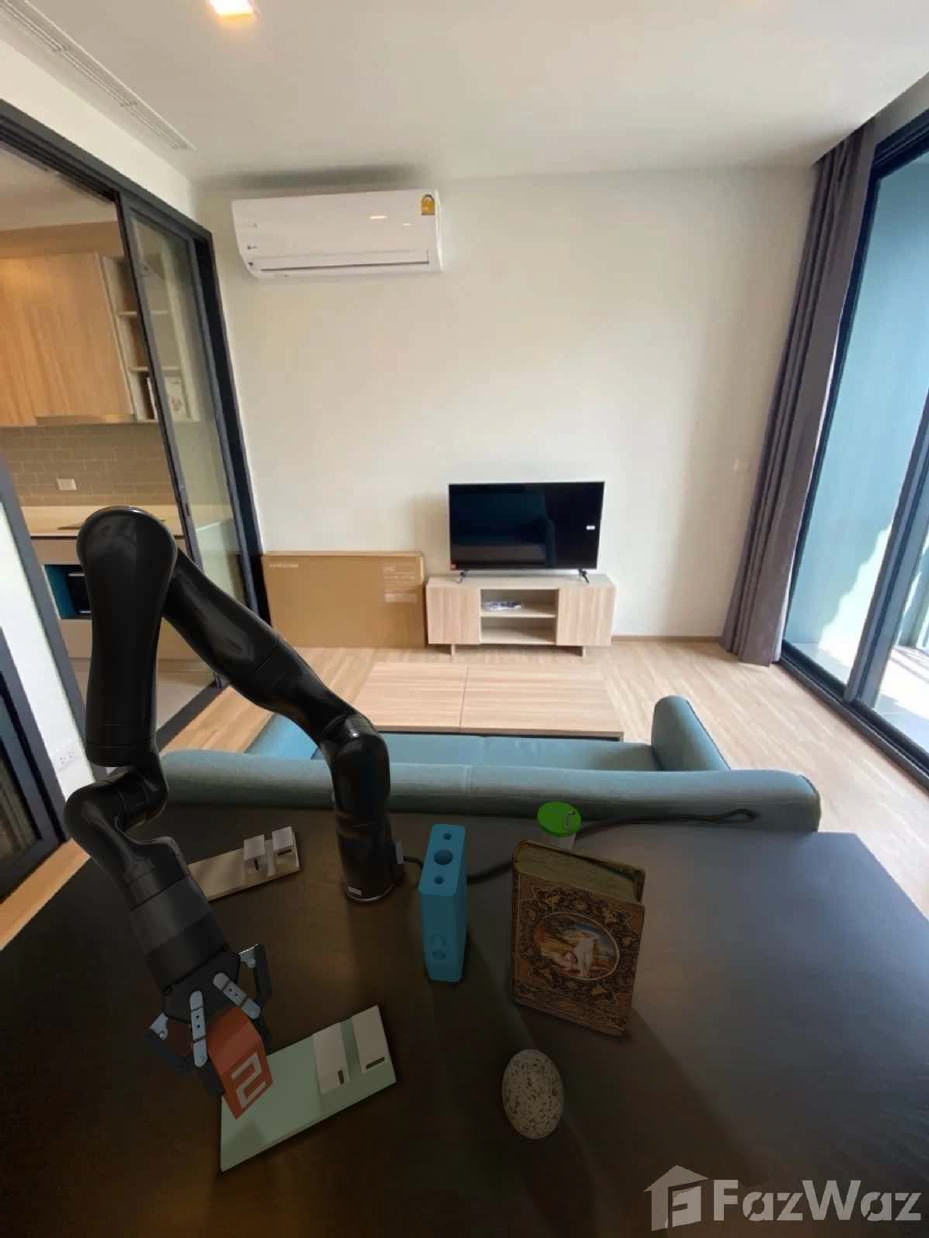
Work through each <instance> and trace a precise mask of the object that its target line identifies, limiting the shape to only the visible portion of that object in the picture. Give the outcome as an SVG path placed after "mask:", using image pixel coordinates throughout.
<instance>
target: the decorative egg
mask: <svg viewBox="0 0 929 1238" xmlns="http://www.w3.org/2000/svg"><path fill="white" fill-rule="evenodd" d="M564 1093H565V1092H564V1085H563V1081H562V1078H561V1075H560V1073H559V1069H558V1068H557V1066H556V1065H555V1064H554V1062H553V1061H552V1060H551V1058H549V1056H548V1055H546V1054H545V1053H544V1052H542V1051H540V1050H537V1049H534V1048H533V1049H532V1048H528V1049H523V1050H521V1051H519V1052H517V1054H515V1055H514V1056H513V1057H512V1058H511V1059H510V1061H509V1062H508V1064H507V1065H506V1068H505V1071H504V1073H503V1077H502V1083H501V1099H502V1104H503V1105H502V1106H503V1108H504V1112H505V1114H506V1117H507V1119H508V1120H509V1122H510V1124H511V1125H512V1127H513V1128H514V1129H515V1130H516V1131H517V1132H518V1133H519V1134H520V1135H522V1136H523V1137H526V1138H528V1139H533V1140H538V1139H542V1138H545V1137H547V1136H548V1135H550V1134H551V1133H552V1132H553V1131H554V1130H555V1129H556V1127H557V1126H558V1125H559V1122H560V1120H561V1118H562V1114H563V1110H564V1104H565V1094H564Z"/></svg>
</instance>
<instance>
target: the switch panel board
mask: <svg viewBox="0 0 929 1238" xmlns="http://www.w3.org/2000/svg"><path fill="white" fill-rule="evenodd" d="M389 1050H390V1049H389V1045H388V1042H387V1038H386V1034H385V1028H384V1024H383V1021H382V1018H381V1013H380V1009H379V1006H378V1004H375V1005H374V1006H372V1007H370V1008H367V1009H365V1010H363V1011H361V1012H358V1013H356V1014H354V1015H352V1016H351V1017H349V1018H348V1019H346V1020H343V1021H341V1022H340V1021H339V1022H337V1023H334V1024H332V1025H330V1026H328V1027H325V1028H324V1029H321V1030H319V1031H316V1032H315V1033H313V1034H312V1035H310V1036H308V1037H306V1038H303V1039H302V1040H299V1041H297V1042H295V1043H293V1044H291V1045H289V1046H287V1047H284V1048H282V1049H279V1050H277V1051H276V1052H273V1053H271V1054H269V1055H266V1057H267V1060H268V1064H269V1068H270V1071H271V1075H272V1079H273V1084H272V1085H271V1086H270V1087H269V1088H268V1089H267V1090H266V1091H265V1092H264V1093H263V1094H262V1095H261V1096H260V1097H259V1098H258V1099H257V1100H256V1101H255V1102H254V1103H253V1104H252V1105H251V1106H250V1107H249V1108H248V1109H247V1110H246V1111H245V1112H244V1113H243V1114H242V1115H241V1116H240V1117H239V1118H238V1119H237V1120H235V1118H234V1116H233V1114H232V1112H231V1111H230V1109H229V1107H228V1105H227V1103H226V1101H225V1099H224V1098H223V1096H222V1097H221V1118H220V1119H221V1122H220V1123H221V1124H220V1125H221V1126H220V1169H221V1171H222V1172H225V1171H227V1170H229V1169H231V1168H233V1167H235V1166H237V1165H239V1164H241V1163H242V1162H245V1161H246V1160H249V1159H250V1158H252V1157H254V1156H256V1155H258V1154H260V1153H262V1152H264V1151H266V1150H268V1149H269V1148H272V1147H273V1146H275V1145H277V1144H280V1143H281V1142H283V1141H285V1140H287V1139H289V1138H291V1137H293V1136H294V1135H296V1134H298V1133H301V1132H302V1131H304V1130H307V1129H308V1128H310V1127H312V1126H314V1125H315V1124H317V1123H320V1122H321V1121H323V1120H325V1119H327V1118H329V1117H331V1116H333V1115H334V1114H337V1113H338V1112H341V1111H342V1110H344V1109H346V1108H349V1107H350V1106H353V1105H354V1104H356V1103H358V1102H360V1101H362V1100H364V1099H366V1098H368V1097H370V1096H372V1095H373V1094H375V1093H378V1092H379V1091H381V1090H383V1089H385V1088H387V1087H389V1086H391V1085H392V1084H395V1083H396V1082H397V1079H396V1075H395V1069H394V1065H393V1062H392V1057H391V1053H390V1051H389Z"/></svg>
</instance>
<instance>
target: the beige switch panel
mask: <svg viewBox="0 0 929 1238" xmlns="http://www.w3.org/2000/svg"><path fill="white" fill-rule="evenodd" d="M271 836H272V838H271V839H267V840H266V839H265V835H264V834H260V835H256V836H253V837H251V838H250V837H249V838H247V839H244V840H243V847H241V848H238V849H235V850H231V851H228V852H226V853H222V854H219V855H216V856H211V857H208V858H205V859H203V860H199V861H196V862H193V863H190V864H189V863H188V864H187V865H188V867H189V869H190V871H191V874H192V875H193V877H194V879H195V880H196V882H197V883H198V884H199V886H200V887H201V889H202V890H203V892H204V894H205V896H206V898H207V900H208V902H210V901H213V900H215V899H218V898H221V897H225V896H228V895H231V894H233V893H236V892H239V891H242V890H245V889H249V888H251V887H254V886H257V885H261V884H263V883H266V882H269V881H272V880H275V879H278V878H281V877H284V876H287V875H290V874H293V873H295V872H298V871H299V872H300V870H301V869H300V862H299V861H300V860H299V856H298V848H297V843H296V842H297V841H296V835H295V832H294V831H293V829H292V826H291V825H290V826H287V827H283V828H280V829H277V830H273V831H271ZM191 874H190V875H191Z"/></svg>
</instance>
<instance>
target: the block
mask: <svg viewBox="0 0 929 1238" xmlns="http://www.w3.org/2000/svg"><path fill="white" fill-rule="evenodd" d="M430 832H431V833H430V836H429V840H428V846H427V850H426V853H425V857H424V862H423V864H424V866H423V870H421V875H420V879H419V884H418V897H419V910H420V912H419V913H420V924H421V937H422V948H423V958H424V959H423V960H424V962H425V967H426V970H427V974H428V977H429V978H430V980H432V981H441V982H450V983H457V982H459V981H460V980H461V978H462V973H463V965H464V960H465V959H464V958H465V950H466V943H467V941H466V940H467V928H468V927H467V919H468V917H467V914H468V913H467V912H468V886H467V885H468V883H467V882H468V880H467V879H466V874H467V850H466V849H467V846H466V845H467V843H466V828H465V827H464V826H463V825H459V824H458V825H457V824H445V823H437V824H434V825H433V826H432V828H431V831H430Z"/></svg>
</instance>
